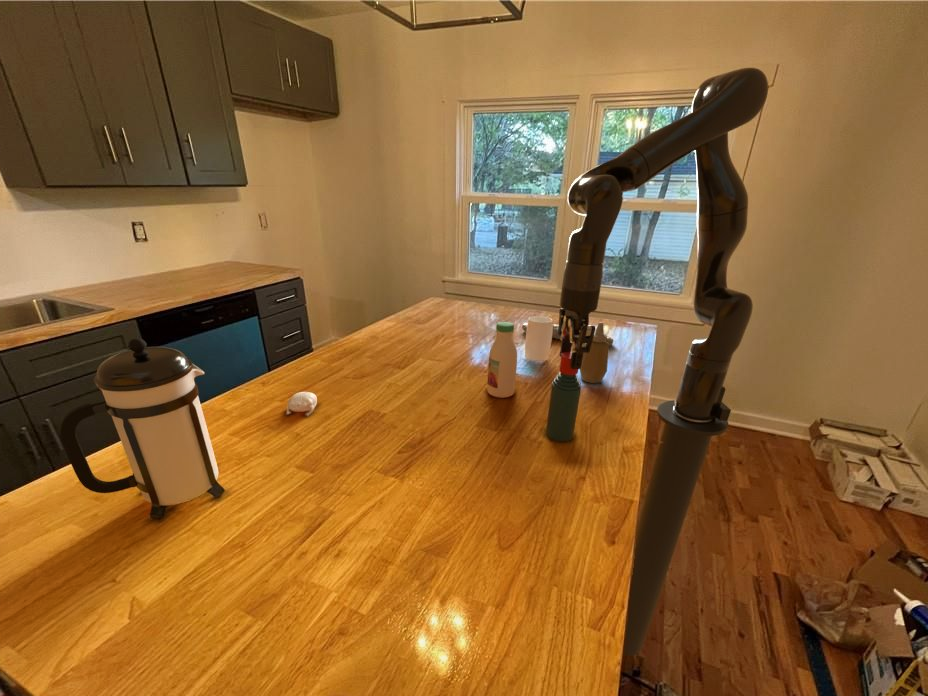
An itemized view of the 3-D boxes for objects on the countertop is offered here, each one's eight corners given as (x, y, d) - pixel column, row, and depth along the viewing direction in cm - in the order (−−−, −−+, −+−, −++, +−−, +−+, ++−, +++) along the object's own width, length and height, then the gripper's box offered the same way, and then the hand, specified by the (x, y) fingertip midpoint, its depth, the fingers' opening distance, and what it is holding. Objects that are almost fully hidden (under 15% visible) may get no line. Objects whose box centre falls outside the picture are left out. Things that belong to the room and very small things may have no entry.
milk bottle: (513, 386, 122) (519, 320, 114) (515, 399, 115) (521, 328, 107) (486, 385, 123) (490, 319, 114) (487, 397, 116) (490, 327, 107)
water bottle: (570, 427, 103) (582, 352, 94) (575, 442, 97) (588, 363, 88) (544, 426, 103) (553, 351, 94) (547, 440, 97) (558, 362, 89)
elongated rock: (609, 353, 152) (612, 346, 161) (612, 339, 150) (616, 333, 159) (517, 332, 165) (525, 327, 173) (519, 319, 163) (527, 314, 171)
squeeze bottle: (587, 386, 124) (597, 327, 116) (572, 375, 131) (581, 319, 123) (610, 383, 126) (621, 325, 118) (594, 373, 133) (604, 317, 125)
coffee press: (175, 462, 86) (129, 320, 73) (247, 473, 84) (212, 327, 71) (94, 523, 70) (17, 356, 58) (179, 538, 68) (119, 367, 55)
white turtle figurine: (309, 417, 104) (307, 403, 102) (282, 415, 104) (280, 402, 102) (321, 402, 111) (319, 389, 109) (296, 400, 111) (294, 387, 110)
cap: (576, 368, 95) (578, 352, 93) (579, 375, 91) (582, 359, 89) (557, 367, 95) (560, 351, 93) (560, 374, 91) (563, 358, 89)
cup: (523, 354, 145) (527, 314, 139) (548, 356, 145) (552, 316, 139) (524, 364, 138) (528, 322, 132) (550, 365, 137) (555, 323, 131)
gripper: (615, 293, 79) (600, 375, 86) (585, 278, 92) (573, 350, 99) (576, 293, 78) (564, 377, 85) (551, 277, 91) (543, 351, 98)
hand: (569, 362), depth 92 cm, fingers open, 5 cm apart
